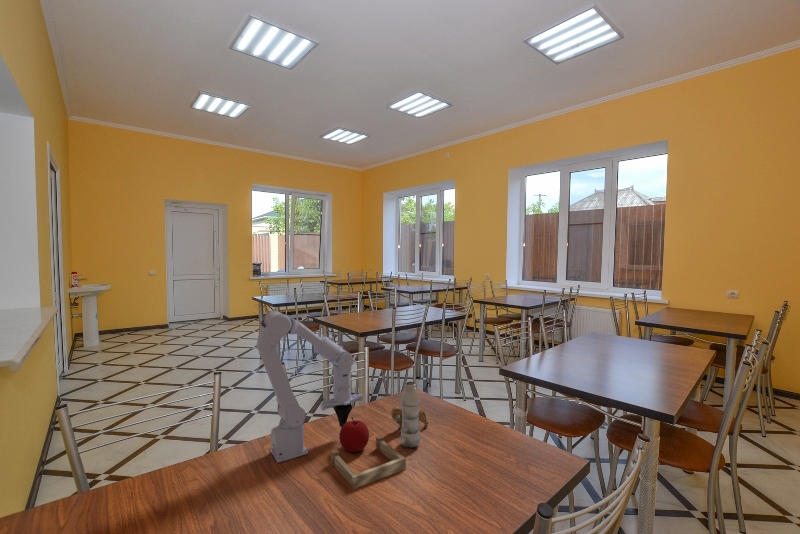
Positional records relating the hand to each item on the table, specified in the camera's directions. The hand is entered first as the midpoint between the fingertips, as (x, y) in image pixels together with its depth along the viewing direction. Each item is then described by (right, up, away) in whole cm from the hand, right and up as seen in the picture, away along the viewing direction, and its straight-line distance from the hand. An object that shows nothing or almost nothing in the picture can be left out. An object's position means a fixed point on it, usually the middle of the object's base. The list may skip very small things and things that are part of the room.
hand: (342, 426), depth 126 cm
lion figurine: (+23, -4, +6) cm, 24 cm away
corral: (+10, -5, -17) cm, 20 cm away
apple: (+5, -4, -7) cm, 10 cm away
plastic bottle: (+23, -4, -5) cm, 23 cm away
